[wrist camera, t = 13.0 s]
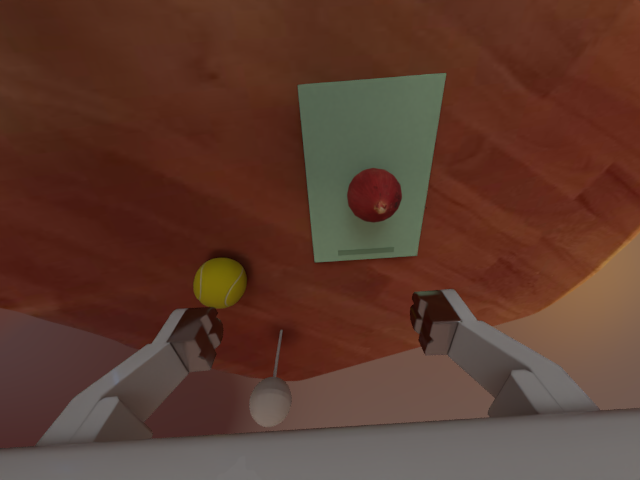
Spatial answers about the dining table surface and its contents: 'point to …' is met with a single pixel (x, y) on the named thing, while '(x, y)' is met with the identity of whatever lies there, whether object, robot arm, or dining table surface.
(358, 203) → the onion
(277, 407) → the lollipop
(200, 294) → the tennis ball
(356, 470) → the robot arm
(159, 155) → the dining table surface
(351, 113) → the cutting board
